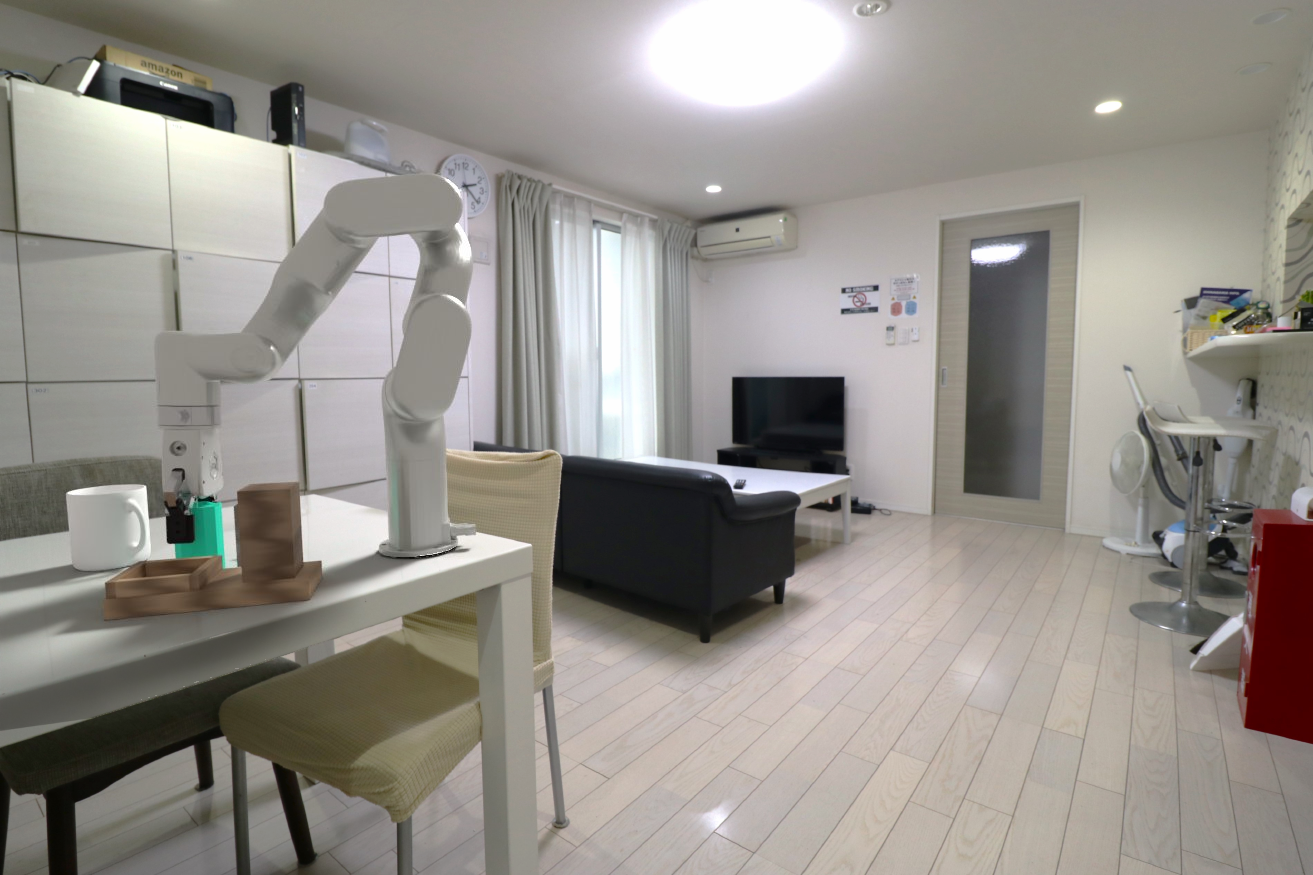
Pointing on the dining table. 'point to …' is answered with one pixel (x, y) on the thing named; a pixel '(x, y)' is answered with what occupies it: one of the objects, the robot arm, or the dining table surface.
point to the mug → (108, 526)
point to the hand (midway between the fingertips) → (193, 534)
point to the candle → (205, 532)
